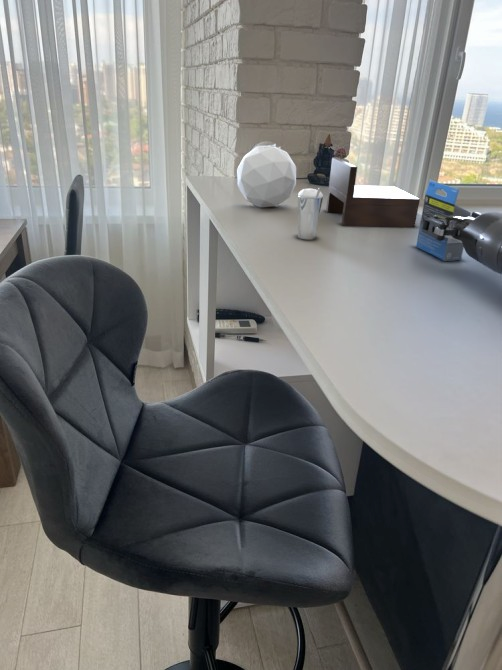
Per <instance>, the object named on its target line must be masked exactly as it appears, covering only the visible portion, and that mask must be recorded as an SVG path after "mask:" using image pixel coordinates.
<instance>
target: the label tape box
mask: <svg viewBox="0 0 502 670" xmlns="http://www.w3.org/2000/svg"><path fill="white" fill-rule="evenodd" d="M441 190H442V192H443V193H445V195H442V194H439V193H437V191H439V192H440V191H441ZM459 192H460V189H459V188H456V187H453V186H449V185H446V184H443V183H441V182H438V181H434V180H432V179H429V181H428V184H427V188H426V190H425V195H424V201H423V206H422V212H421V218H420V224H419V230H418V234H417V239H416V245H415V246H416V248H418V249H419V250H421V251H424V252H426V253H428V254H430V255H431V256H434V257H436V258H438V259H440V260H442V261H444V262H451V261H452V262H453V261H461V260H462V258H463V253H464V246H463V244H462V243H460V242H458V240H454V239H450V238H446V237H445V238H444V240H443V241H439V240H437V239H435V238H433V237H431V236H429V235H428V234H426V233H424V232H422V231H421V230H422V226H423V222H422V221H423V216H424V213H425V212H426V211H432V212H434V213H435V214H437V215H439V216H443V217H447V216H450V215H454V216H459V217H463V218H467V217H471V215H472V213H471V212H470V211H469V210H467V209H465V208H462V207H461V206H459V205H458V204H456V202H457V199H458V195H459ZM440 221H441V220H440ZM442 222H444V221H442ZM457 222H458V221H454V220H453V222H452V226H451V228H453V227H454V225H455V224H456V223H457Z"/></svg>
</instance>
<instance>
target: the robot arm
mask: <svg viewBox="0 0 502 670" xmlns="http://www.w3.org/2000/svg"><path fill="white" fill-rule="evenodd" d="M440 220H441V221H440ZM453 220H454V221H458V222H457V223H456V224H455V225H454V227H453V228H451V226H452V222H453ZM442 221H444V222H442ZM422 222H423V226H422V230H421V231H422V232H424V233H426V234H428V235H429V236H431V237H433V238H435V239H437V240H439V241H443V240H444V238H445V237H446V238H450V239H454V240H458V242H460V243H462V244H463V246H464V248H463V250H464V251H465V253H466V254H467V255H468V256H469V257H470V258H471V259H473V260H475V261H476V262H478V263H479V264H481V265H483V266H484V267H486V268H488V269H489V270H491V271H493V272H495V273H496V274H499V275H502V212H498V211H487V212H484V213H481V212H478V211H472V213H471V215H470V217H467V218H463V217H459V216H454V215H450V216H447V217H443V216H439V215H437V214H435V213H434V212H432V211H426V212H425V213H424V216H423V221H422Z"/></svg>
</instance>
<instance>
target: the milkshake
mask: <svg viewBox="0 0 502 670" xmlns="http://www.w3.org/2000/svg"><path fill="white" fill-rule="evenodd" d="M321 190H322V187H321V186H320V187H319V186H318V189H315V188H312V187H311V188H310V187H309V188H302V189H301V190H300V191H298V194H297V195H298V227H297V238H299V239H301V240H306V241H307V240H309V241H311V240H315V238H316V236H317V235H316V234H317V229H318V223H319V217H320V213H321V208H322V204H323V199H324V194H323V192H321Z"/></svg>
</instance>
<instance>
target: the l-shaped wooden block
mask: <svg viewBox="0 0 502 670" xmlns="http://www.w3.org/2000/svg"><path fill="white" fill-rule="evenodd" d="M357 172H358V166H356V165H354V164H352V163H350V162H348V161H346V160H344V159H342V158H340V157H332V158H331V164H330V173H329V181H328V190H327V198H326V199H327V200H326V206H325V212H327V213H342V216H341V223H340V224H341V226H342V227H383V228H384V227H387V228H388V227H389V228H390V227H391V228H415V226H416V221H417V217H418V211H419V206H420V201H421V198H418V197H416V196H415V195H412V194H410V193H408V192H406V191H405V190H402V189H400V188H398V187H396V186H384V185H383V186H382V185H356V181H357V180H356V179H357Z"/></svg>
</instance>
